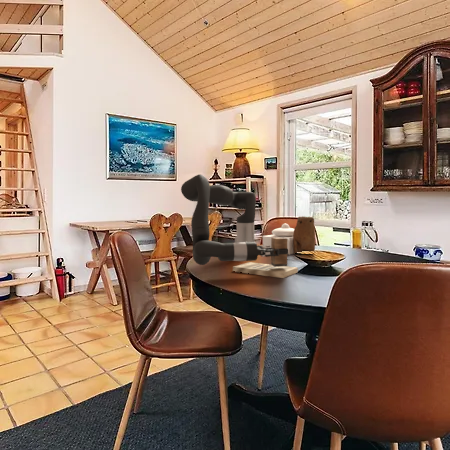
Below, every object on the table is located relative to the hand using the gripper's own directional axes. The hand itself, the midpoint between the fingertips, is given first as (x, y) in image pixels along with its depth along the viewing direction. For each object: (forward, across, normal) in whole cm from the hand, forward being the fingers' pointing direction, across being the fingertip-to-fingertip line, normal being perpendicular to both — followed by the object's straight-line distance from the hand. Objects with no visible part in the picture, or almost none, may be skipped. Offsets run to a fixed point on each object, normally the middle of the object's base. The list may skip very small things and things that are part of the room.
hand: (285, 250), depth 154 cm
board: (-7, +4, +9) cm, 13 cm away
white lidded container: (+20, +60, +10) cm, 64 cm away
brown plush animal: (+26, +46, +10) cm, 54 cm away
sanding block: (-3, 0, +6) cm, 7 cm away
